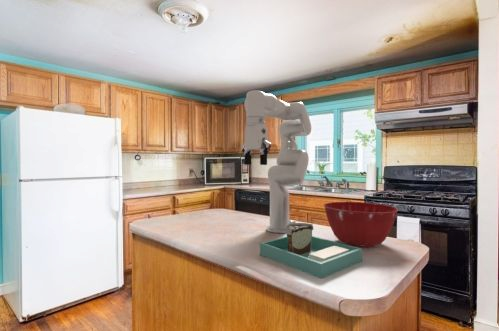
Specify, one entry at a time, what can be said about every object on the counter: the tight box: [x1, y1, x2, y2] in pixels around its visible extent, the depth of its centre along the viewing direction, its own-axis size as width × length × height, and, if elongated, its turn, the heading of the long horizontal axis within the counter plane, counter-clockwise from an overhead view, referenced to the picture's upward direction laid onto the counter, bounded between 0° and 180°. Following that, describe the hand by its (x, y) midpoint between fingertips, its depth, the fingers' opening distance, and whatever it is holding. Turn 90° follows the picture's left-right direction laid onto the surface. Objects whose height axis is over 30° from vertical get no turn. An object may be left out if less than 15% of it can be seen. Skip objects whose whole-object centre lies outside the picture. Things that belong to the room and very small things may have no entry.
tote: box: [259, 235, 363, 279], centre depth 97 cm, size 22×26×5 cm
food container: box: [284, 222, 314, 255], centre depth 101 cm, size 12×6×10 cm, turn 129°
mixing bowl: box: [323, 201, 399, 249], centre depth 117 cm, size 28×28×15 cm
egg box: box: [308, 246, 349, 262], centre depth 90 cm, size 14×6×4 cm, turn 129°
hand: (255, 164), depth 115 cm, fingers open, 9 cm apart
